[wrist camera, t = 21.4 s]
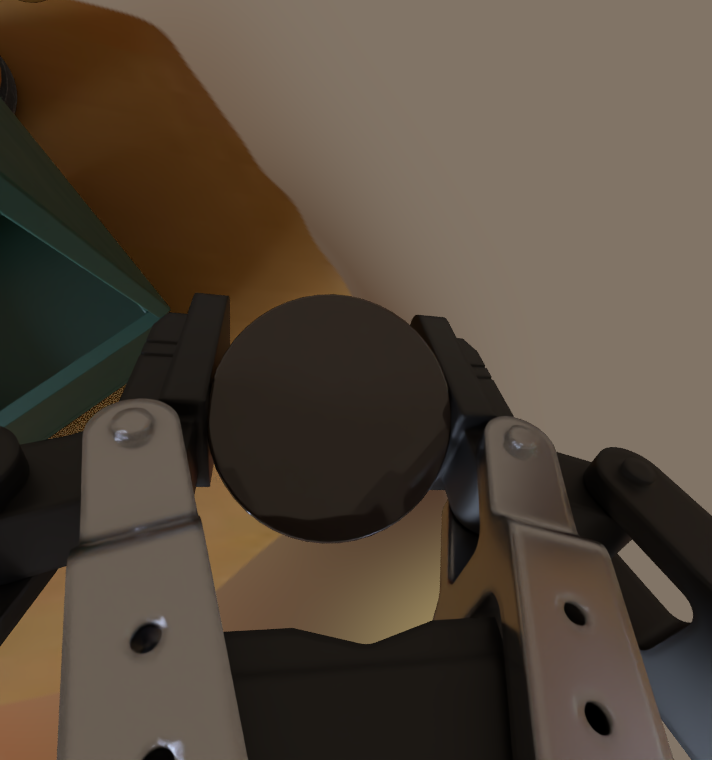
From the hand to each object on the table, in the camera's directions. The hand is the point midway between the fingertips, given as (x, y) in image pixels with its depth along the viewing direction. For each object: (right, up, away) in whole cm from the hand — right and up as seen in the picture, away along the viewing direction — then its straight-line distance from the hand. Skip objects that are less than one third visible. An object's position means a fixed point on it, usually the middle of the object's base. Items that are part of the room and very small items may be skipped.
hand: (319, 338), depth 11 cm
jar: (-2, -3, +9) cm, 9 cm away
